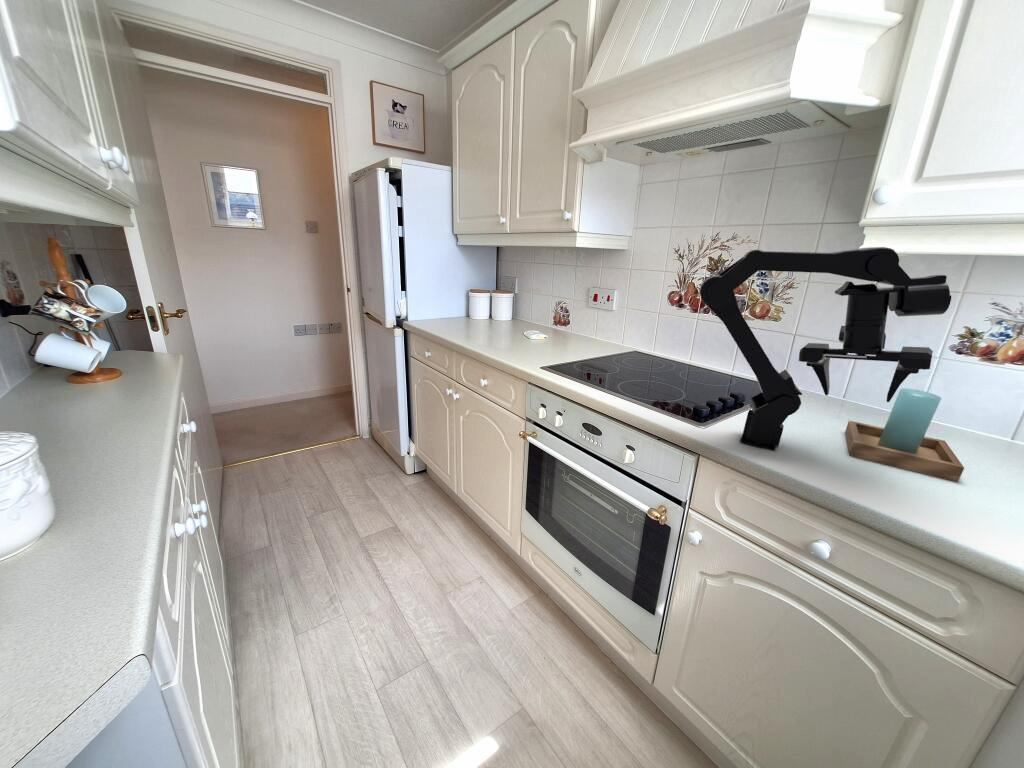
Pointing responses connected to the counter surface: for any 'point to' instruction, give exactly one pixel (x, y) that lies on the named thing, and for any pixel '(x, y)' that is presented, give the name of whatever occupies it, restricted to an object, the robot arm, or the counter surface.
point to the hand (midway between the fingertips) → (856, 398)
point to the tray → (928, 459)
